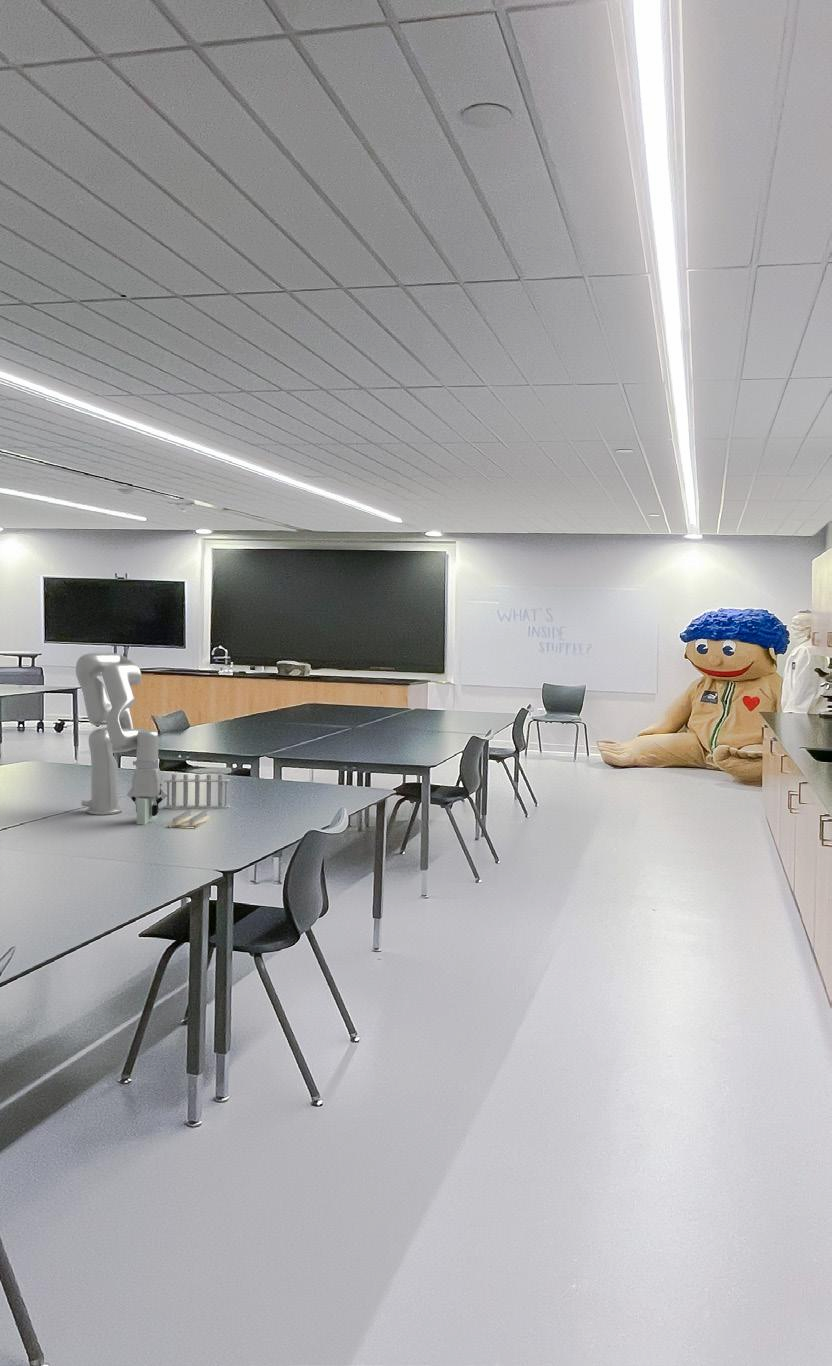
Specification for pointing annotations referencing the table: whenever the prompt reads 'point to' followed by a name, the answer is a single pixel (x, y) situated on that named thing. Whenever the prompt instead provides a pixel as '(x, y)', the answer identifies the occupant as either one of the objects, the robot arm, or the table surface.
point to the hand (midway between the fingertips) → (147, 814)
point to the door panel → (144, 810)
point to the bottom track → (190, 820)
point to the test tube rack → (197, 791)
